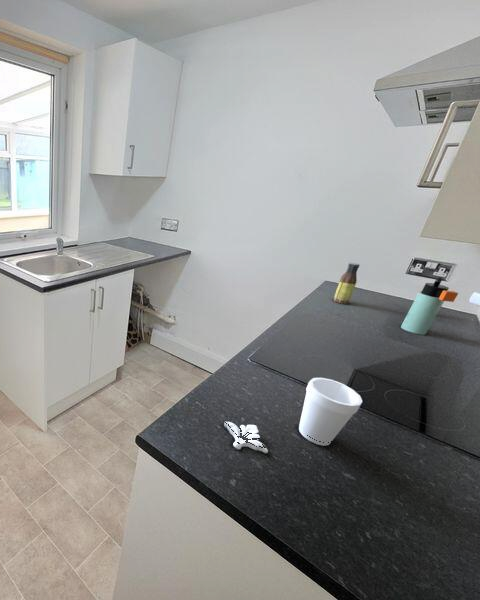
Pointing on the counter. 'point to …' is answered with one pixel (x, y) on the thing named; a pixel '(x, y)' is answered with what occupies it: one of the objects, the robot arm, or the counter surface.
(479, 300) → the robot arm
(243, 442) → the acanthus leaf ornament
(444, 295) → the nozzle button
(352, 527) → the counter surface
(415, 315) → the sports bottle
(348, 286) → the sauce bottle
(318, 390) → the foam cup
